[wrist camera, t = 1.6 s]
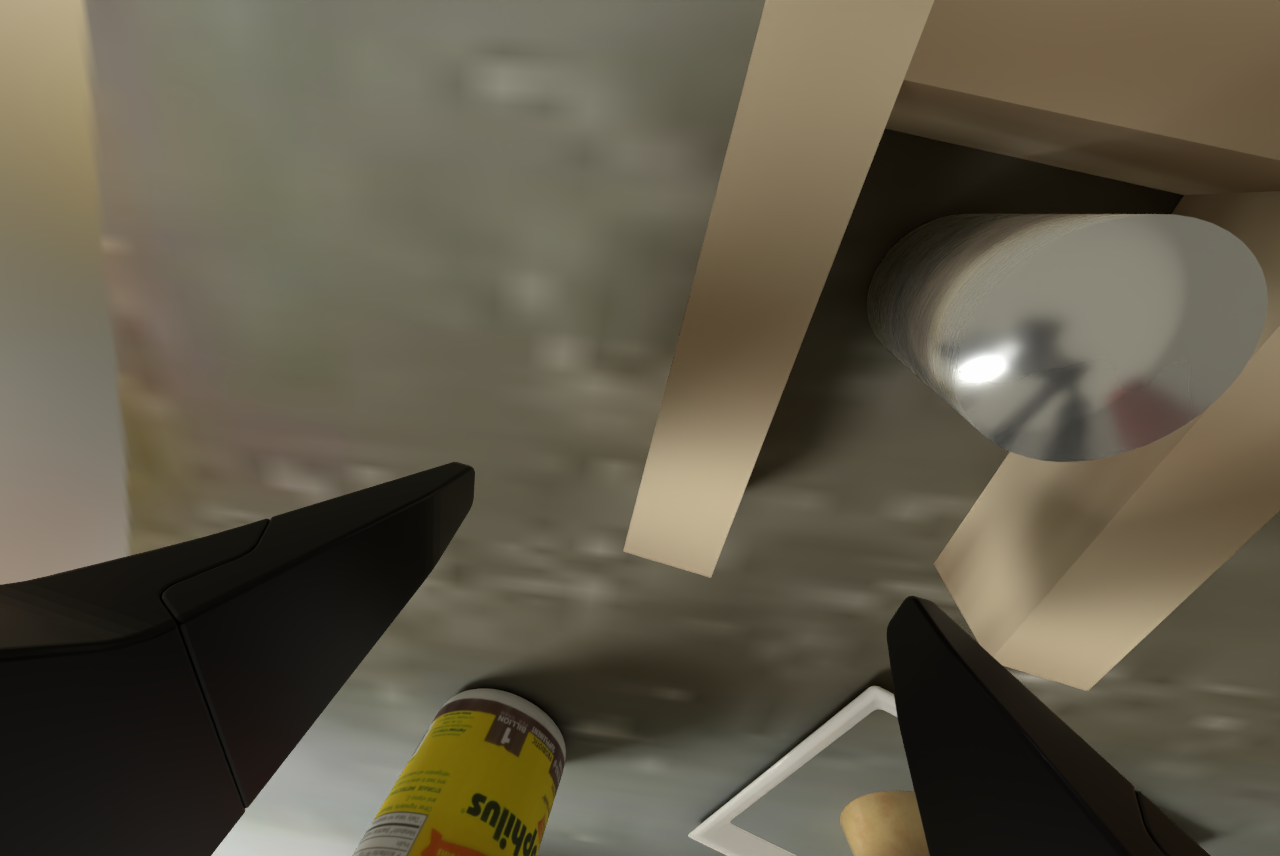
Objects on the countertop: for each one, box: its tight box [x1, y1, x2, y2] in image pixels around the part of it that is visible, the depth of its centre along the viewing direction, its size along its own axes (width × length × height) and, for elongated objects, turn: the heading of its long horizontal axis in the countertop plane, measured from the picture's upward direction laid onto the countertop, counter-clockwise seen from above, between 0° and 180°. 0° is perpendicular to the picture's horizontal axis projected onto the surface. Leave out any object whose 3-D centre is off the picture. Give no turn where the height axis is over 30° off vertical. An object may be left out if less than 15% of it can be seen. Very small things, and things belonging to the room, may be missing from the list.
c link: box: [623, 0, 1280, 691], centre depth 9 cm, size 11×10×3 cm
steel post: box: [867, 214, 1268, 462], centre depth 7 cm, size 3×3×4 cm
